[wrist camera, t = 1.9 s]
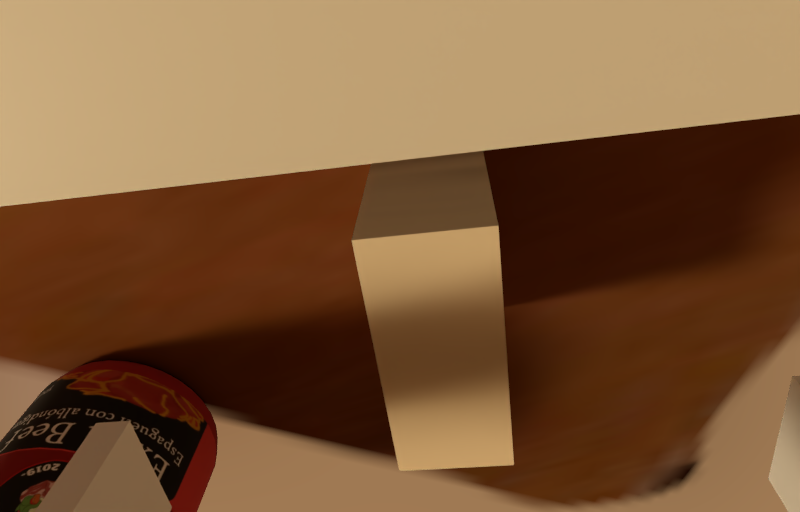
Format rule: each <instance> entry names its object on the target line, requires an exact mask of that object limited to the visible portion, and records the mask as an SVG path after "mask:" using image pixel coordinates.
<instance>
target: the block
mask: <svg viewBox="0 0 800 512" xmlns="http://www.w3.org/2000/svg"><path fill="white" fill-rule="evenodd" d="M352 245H353V249H354V254H355V259H356V264H357V269H358V274H359V278H360V283H361V288H362V293H363V298H364V303H365V307H366V312H367V317H368V322H369V327H370V332H371V337H372V341H373V346H374V351H375V356H376V361H377V366H378V370H379V375H380V380H381V385H382V390H383V395H384V399H385V404H386V409H387V414H388V419H389V424H390V428H391V433H392V438H393V443H394V448H395V453H396V457H397V462H398V467H399V471H410V470H428V469H447V468H466V467H484V466H503V465H514V459H513V444H512V428H511V413H510V397H509V381H508V366H507V350H506V335H505V319H504V304H503V288H502V273H501V257H500V242H499V226H498V221H497V216H496V211H495V206H494V201H493V197H492V192H491V187H490V182H489V177H488V172H487V167H486V163H485V158H484V153H483V151H476V152H468V153H459V154H450V155H441V156H433V157H424V158H416V159H407V160H398V161H390V162H381V163H372V164H371V167H370V171H369V175H368V178H367V182H366V186H365V190H364V194H363V198H362V202H361V206H360V210H359V214H358V217H357V221H356V225H355V229H354V233H353V237H352Z"/></svg>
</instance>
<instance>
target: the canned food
mask: <svg viewBox="0 0 800 512" xmlns="http://www.w3.org/2000/svg"><path fill="white" fill-rule="evenodd" d="M119 421H130V422H131V424H132V426H133V428H134V431H135V433H136V435H137V437H138V439H139V441H140V443H141V445H142V447H143V449H144V451H145V453H146V455H147V457H148V459H149V461H150V463H151V465H152V467H153V469H154V472H155V474H156V476H157V478H158V480H159V482H160V484H161V486H162V488H163V490H164V492H165V494H166V496H167V498H168V500H169V502H170V504H171V506H172V509H171V511H170V512H197V510H198V507H199V505H200V502H201V500H202V497H203V495H204V492H205V490H206V487H207V484H208V482H209V480H210V477H211V474H212V472H213V469H214V467H215V462H216V455H217V430H216V425H215V422H214V420H213V417H212V415H211V413H210V411H209V410H208V408H207V407H206V405H205V404H204V402H203V401H202V400H201V399H200V398H199V397H198V396H197V395H196V394H195V393H194V392H193V390H191V389H190V388H189V387H187V386H186V385H185V384H183V383H182V382H181V381H179V380H178V379H176V378H174V377H172V376H170V375H168V374H167V373H165V372H163V371H160V370H158V369H155V368H152V367H149V366H147V365H143V364H138V363H133V362H128V361H113V360H108V361H99V362H92V363H89V364H85V365H82V366H79V367H77V368H75V369H73V370H72V371H70V372H68V373H66V374H65V375H63V376H61V377H60V378H58V379H57V380H55V381H54V382H52V383H51V384H50V385H49V386H47V387H46V388H45V389H44V390H43V391H42V392H41V393H40V395H39V396H38V397H37V398H36V400H35V401H34V402H33V403H32V404H31V405H30V407H29V408H28V409H27V411H26V412H25V413H24V414H23V415H22V416H21V418H20V419H19V420H18V421H17V422H16V423H15V425H14V426H13V427H12V428H11V429H10V431H9V432H8V433H7V434H6V436H5V437H4V438H3V439H2V440H1V442H0V512H35V511H36V509H37V508H38V506H39V505H40V503H41V502H42V500H43V499H44V498H45V496H46V495H47V493H48V492H49V490H50V489H51V487H52V486H53V485H54V483H55V482H56V480H57V479H58V477H59V476H60V474H61V473H62V472H63V470H64V469H65V467H66V466H67V464H68V463H69V461H70V460H71V459H72V457H73V456H74V454H75V453H76V451H77V450H78V448H79V447H80V445H81V444H82V443H83V441H84V440H85V438H86V437H87V435H88V434H89V432H90V431H91V430H92V428H93V427H94V425H95V424H96V423H104V422H119Z"/></svg>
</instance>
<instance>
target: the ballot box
mask: <svg viewBox="0 0 800 512" xmlns="http://www.w3.org/2000/svg"><path fill="white" fill-rule="evenodd" d="M797 114H800V0H0V206H8V205H17V204H26V203H34V202H43V201H52V200H60V199H69V198H78V197H86V196H95V195H104V194H112V193H121V192H130V191H138V190H147V189H156V188H164V187H173V186H182V185H190V184H199V183H208V182H216V181H225V180H234V179H242V178H251V177H260V176H268V175H277V174H286V173H294V172H303V171H312V170H320V169H329V168H338V167H346V166H355V165H364V164H372V163H381V162H390V161H398V160H407V159H416V158H424V157H433V156H441V155H450V154H459V153H468V152H476V151H485V150H493V149H502V148H511V147H519V146H528V145H537V144H545V143H554V142H563V141H571V140H580V139H589V138H597V137H606V136H615V135H623V134H632V133H641V132H649V131H658V130H667V129H675V128H684V127H693V126H701V125H710V124H719V123H727V122H736V121H745V120H753V119H762V118H771V117H779V116H788V115H797Z"/></svg>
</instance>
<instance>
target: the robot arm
mask: <svg viewBox="0 0 800 512" xmlns="http://www.w3.org/2000/svg"><path fill="white" fill-rule="evenodd" d="M768 479H769V480H770V482H771V484H772V485H773V487H774V489H775V490H776V492H777V494H778V495H779V497H780V499H781V500H782V502H783V504H784V505H785V507H786V509H787V510H788V512H800V376H793V377H792V380H791V384H790V388H789V393H788V397H787V401H786V406H785V410H784V414H783V418H782V423H781V427H780V431H779V435H778V440H777V444H776V448H775V453H774V457H773V461H772V465H771V470H770V474H769V478H768ZM171 509H172V506H171V504H170V502H169V500H168V498H167V496H166V494H165V492H164V490H163V488H162V486H161V484H160V482H159V480H158V478H157V476H156V474H155V472H154V469H153V467H152V465H151V463H150V461H149V459H148V457H147V455H146V453H145V451H144V449H143V447H142V445H141V443H140V441H139V439H138V437H137V435H136V433H135V431H134V428H133V426H132V424H131V422H130V421H119V422H104V423H96V424H95V425H94V427H93V428H92V430H91V431H90V432H89V434H88V435H87V437H86V438H85V440H84V441H83V443H82V444H81V445H80V447H79V448H78V450H77V451H76V453H75V454H74V456H73V457H72V459H71V460H70V461H69V463H68V464H67V466H66V467H65V469H64V470H63V472H62V473H61V474H60V476H59V477H58V479H57V480H56V482H55V483H54V485H53V486H52V487H51V489H50V490H49V492H48V493H47V495H46V496H45V498H44V499H43V500H42V502H41V503H40V505H39V506H38V508H37V509H36V511H35V512H170V511H171Z"/></svg>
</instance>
